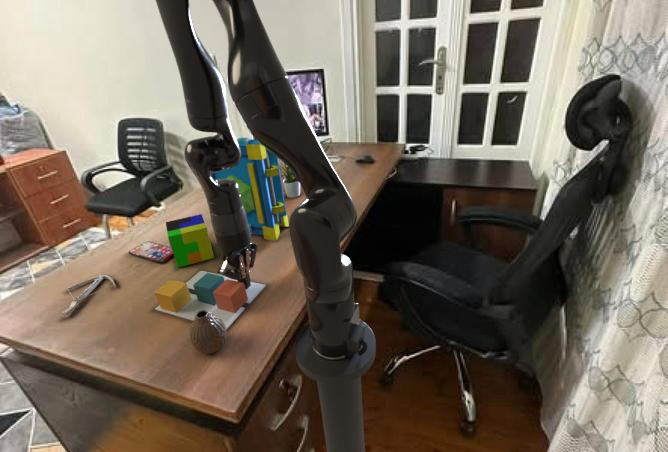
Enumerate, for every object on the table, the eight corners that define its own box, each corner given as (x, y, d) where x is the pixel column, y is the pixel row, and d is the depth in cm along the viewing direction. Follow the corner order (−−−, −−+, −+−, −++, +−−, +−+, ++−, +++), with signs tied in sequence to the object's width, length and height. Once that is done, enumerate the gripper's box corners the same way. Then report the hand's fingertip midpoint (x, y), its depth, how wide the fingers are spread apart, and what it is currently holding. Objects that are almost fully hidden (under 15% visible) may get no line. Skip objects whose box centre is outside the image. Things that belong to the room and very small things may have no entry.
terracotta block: (248, 299, 84) (244, 283, 81) (235, 313, 80) (230, 296, 77) (231, 295, 85) (226, 278, 83) (217, 308, 81) (212, 291, 79)
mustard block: (192, 299, 85) (186, 283, 83) (176, 313, 81) (170, 296, 79) (176, 295, 87) (170, 279, 85) (160, 308, 83) (154, 292, 81)
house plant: (266, 201, 134) (258, 160, 126) (280, 187, 145) (274, 149, 138) (300, 203, 130) (294, 161, 122) (312, 189, 141) (308, 149, 133)
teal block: (228, 292, 86) (223, 276, 84) (214, 305, 82) (209, 289, 80) (212, 288, 88) (207, 272, 86) (198, 301, 84) (192, 284, 82)
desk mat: (265, 285, 88) (265, 284, 88) (225, 330, 75) (225, 329, 75) (201, 271, 96) (201, 270, 96) (155, 309, 83) (154, 308, 83)
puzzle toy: (208, 242, 110) (201, 214, 105) (214, 257, 102) (206, 227, 97) (174, 251, 106) (165, 222, 101) (177, 267, 98) (168, 236, 93)
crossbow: (82, 281, 97) (79, 275, 96) (127, 278, 97) (124, 271, 96) (39, 319, 83) (36, 312, 82) (92, 315, 83) (89, 308, 82)
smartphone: (147, 240, 112) (180, 249, 105) (148, 243, 112) (181, 251, 106) (126, 252, 106) (159, 261, 100) (127, 254, 106) (160, 264, 100)
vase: (220, 360, 68) (209, 328, 64) (188, 358, 70) (175, 325, 65) (235, 334, 74) (225, 302, 70) (205, 332, 76) (194, 300, 71)
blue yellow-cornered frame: (238, 217, 124) (218, 132, 109) (297, 223, 116) (284, 133, 102) (214, 237, 112) (188, 145, 98) (277, 245, 105) (260, 147, 90)
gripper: (225, 244, 71) (242, 308, 79) (261, 214, 81) (273, 274, 90) (196, 238, 74) (216, 301, 82) (235, 210, 84) (248, 268, 93)
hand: (245, 286), depth 86 cm, fingers closed
